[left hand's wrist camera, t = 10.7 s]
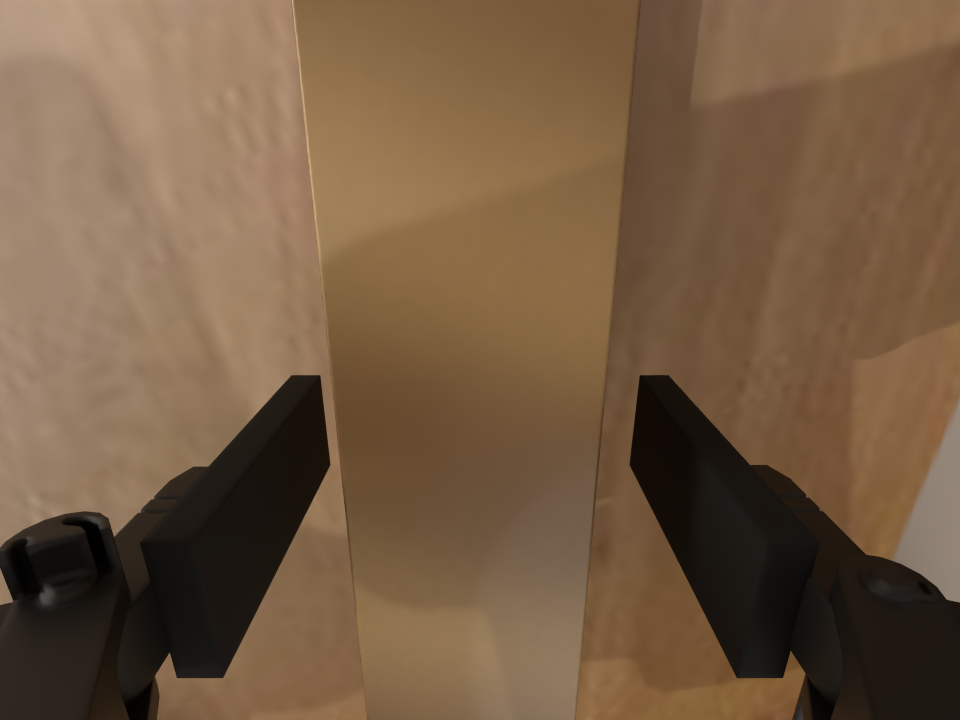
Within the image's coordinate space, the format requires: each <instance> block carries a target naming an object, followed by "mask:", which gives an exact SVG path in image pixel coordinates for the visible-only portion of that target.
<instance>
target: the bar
mask: <svg viewBox="0 0 960 720" xmlns="http://www.w3.org/2000/svg"><path fill="white" fill-rule="evenodd" d="M291 2H292V12H293V21H294V31H295V40H296V50H297V59H298V69H299V78H300V88H301V97H302V106H303V116H304V125H305V135H306V144H307V154H308V163H309V173H310V182H311V192H312V201H313V210H314V220H315V229H316V239H317V248H318V258H319V267H320V277H321V286H322V296H323V305H324V315H325V324H326V333H327V343H328V352H329V362H330V371H331V381H332V390H333V400H334V409H335V419H336V428H337V437H338V447H339V456H340V466H341V475H342V485H343V494H344V504H345V513H346V523H347V532H348V541H349V551H350V560H351V570H352V579H353V589H354V598H355V608H356V617H357V627H358V636H359V645H360V655H361V664H362V674H363V683H364V693H365V702H366V712H367V720H576V709H577V698H578V687H579V676H580V665H581V654H582V643H583V632H584V621H585V610H586V599H587V588H588V577H589V566H590V555H591V544H592V533H593V522H594V511H595V500H596V489H597V478H598V467H599V456H600V445H601V434H602V423H603V412H604V401H605V390H606V379H607V368H608V357H609V346H610V335H611V324H612V313H613V302H614V291H615V280H616V269H617V258H618V247H619V236H620V225H621V214H622V203H623V191H624V180H625V169H626V158H627V147H628V136H629V125H630V114H631V103H632V92H633V81H634V70H635V59H636V48H637V37H638V26H639V15H640V4H641V0H291Z"/></svg>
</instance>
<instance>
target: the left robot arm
mask: <svg viewBox="0 0 960 720" xmlns="http://www.w3.org/2000/svg"><path fill="white" fill-rule="evenodd" d="M329 467H330V457H329V448H328V439H327V431H326V422H325V413H324V404H323V396H322V387H321V378H320V375H291V377H290V378H289V379H288V380H287V381H286V382H285V383H284V384H283V385H282V386H281V388H280V389H279V390H278V391H277V392H276V393H275V394H274V395H273V396H272V397H271V399H270V400H269V401H268V402H267V403H266V404H265V405H264V406H263V407H262V408H261V410H260V411H259V412H258V413H257V414H256V415H255V416H254V417H253V418H252V419H251V421H250V422H249V423H248V424H247V425H246V426H245V427H244V428H243V429H242V430H241V432H240V433H239V434H238V435H237V436H236V437H235V438H234V439H233V440H232V441H231V443H230V444H229V445H228V446H227V447H226V448H225V449H224V450H223V451H222V453H221V454H220V455H219V456H218V457H217V458H216V459H215V460H214V461H213V462H212V464H211V465H210V466H209V467H192V468H191V469H189V470H187V471H186V472H184V473H182V474H180V475H179V476H177V477H175V478H174V479H172V480H170V481H169V482H168V483H167V484H166V485H165V486H164V487H163V488H162V489H161V490H160V491H159V492H158V493H157V494H156V495H155V496H154V497H155V498H154V500H150V501H149V502H148V503H147V504H146V505H145V506H144V507H143V508H142V509H141V513H138V514H137V515H136V516H135V517H134V518H133V519H132V520H131V521H130V522H129V523H128V524H127V525H126V526H125V527H124V528H123V529H122V530H121V531H120V532H119V533H118V534H117V535H116V536H115V537H114V536H113V532H112V529H111V526H110V522H109V519H108V518H107V517H105V516H104V515H102V514H101V513H95V512H86V511H85V512H77V513H69V514H64V515H60V516H57V517H54V518H50V519H47V520H44V521H42V522H39V523H37V524H35V525H33V526H31V527H28V528H26V529H24V530H22V531H21V532H19V533H18V534H16V535H15V536H13V537H12V538H10V539H9V540H7V541H6V542H5V543H4V544H3V545H2V546H1V547H0V568H1V571H2V573H3V576H4V579H5V581H6V584H7V586H8V589H9V591H10V594H11V596H12V599H13V602H12V603H8V604H3V605H0V720H157V713H158V704H159V691H158V685H157V681H156V678H155V674H156V673H157V671H158V670H159V668H160V667H161V665H162V664H163V662H164V660H165V659H166V657H167V656H168V654H169V653H170V654H171V658H172V662H173V665H174V669H175V673H176V676H177V678H223V677H224V675H225V673H226V671H227V669H228V667H229V665H230V663H231V661H232V659H233V657H234V655H235V653H236V651H237V649H238V647H239V645H240V643H241V641H242V639H243V637H244V635H245V633H246V631H247V629H248V627H249V625H250V623H251V621H252V619H253V617H254V615H255V614H256V612H257V610H258V608H259V606H260V604H261V602H262V600H263V598H264V596H265V594H266V592H267V590H268V588H269V586H270V584H271V582H272V580H273V578H274V576H275V574H276V572H277V570H278V568H279V566H280V564H281V562H282V560H283V558H284V556H285V554H286V552H287V550H288V548H289V546H290V544H291V542H292V540H293V538H294V536H295V534H296V532H297V530H298V528H299V526H300V524H301V522H302V520H303V518H304V516H305V514H306V512H307V510H308V508H309V506H310V504H311V502H312V500H313V498H314V496H315V494H316V492H317V490H318V489H319V487H320V485H321V483H322V481H323V479H324V477H325V475H326V473H327V471H328V469H329ZM630 467H631V469H632V471H633V473H634V475H635V477H636V479H637V481H638V483H639V485H640V487H641V488H642V490H643V492H644V494H645V496H646V498H647V500H648V502H649V504H650V506H651V508H652V510H653V512H654V514H655V516H656V518H657V520H658V522H659V524H660V526H661V528H662V530H663V532H664V534H665V536H666V538H667V540H668V542H669V544H670V546H671V548H672V550H673V552H674V554H675V556H676V558H677V560H678V562H679V564H680V566H681V568H682V570H683V572H684V574H685V576H686V578H687V580H688V582H689V584H690V586H691V588H692V590H693V592H694V594H695V596H696V598H697V600H698V602H699V604H700V606H701V608H702V610H703V612H704V613H705V615H706V617H707V619H708V621H709V623H710V625H711V627H712V629H713V631H714V633H715V635H716V637H717V639H718V641H719V643H720V645H721V647H722V649H723V651H724V653H725V655H726V657H727V659H728V661H729V663H730V665H731V667H732V669H733V671H734V673H735V675H736V677H737V678H783V676H784V673H785V669H786V665H787V662H788V658H789V654H790V651H792V653H793V655H794V656H795V658H796V659H797V661H798V662H799V664H800V665H801V667H802V669H803V670H804V672H805V673H806V674H805V678H804V681H803V685H802V688H801V691H800V695H799V698H798V701H797V705H796V708H795V712H794V715H793V719H792V720H960V603H959V602H954V601H949V600H946V598H945V597H944V596H943V594H942V593H941V592H940V591H939V589H938V588H937V587H936V586H935V585H934V584H932V583H931V582H930V581H928V580H927V579H926V578H925V577H923V576H922V575H921V574H919V573H917V572H915V571H913V570H911V569H909V568H907V567H906V566H904V565H902V564H899V563H897V562H894V561H891V560H888V559H885V558H882V557H877V556H870V555H866V554H865V553H864V552H863V551H862V550H861V549H860V548H859V547H858V546H857V545H856V544H855V543H854V542H853V541H852V540H851V539H850V538H849V537H848V536H847V535H846V534H845V533H844V532H843V531H842V530H841V529H840V528H839V527H838V526H837V525H836V524H835V523H834V522H833V521H832V520H831V519H830V518H829V517H828V516H827V515H826V514H825V513H824V512H823V511H820V510H819V507H818V506H817V505H816V504H815V503H814V502H813V501H812V500H811V499H810V498H806V494H805V493H804V492H803V491H802V490H801V489H800V488H799V487H798V486H797V485H796V484H795V483H794V482H793V481H792V480H791V479H790V478H788V477H786V476H785V475H783V474H781V473H780V472H778V471H776V470H774V469H773V468H771V467H769V466H768V465H749V463H748V462H747V461H746V460H745V459H744V458H743V457H742V456H741V455H740V454H739V452H738V451H737V450H736V449H735V448H734V447H733V446H732V445H731V444H730V443H729V441H728V440H727V439H726V438H725V437H724V436H723V435H722V434H721V433H720V432H719V430H718V429H717V428H716V427H715V426H714V425H713V424H712V423H711V422H710V421H709V419H708V418H707V417H706V416H705V415H704V414H703V413H702V412H701V411H700V410H699V408H698V407H697V406H696V405H695V404H694V403H693V402H692V401H691V400H690V399H689V397H688V396H687V395H686V394H685V393H684V392H683V391H682V390H681V389H680V388H679V386H678V385H677V384H676V383H675V382H674V381H673V380H672V379H671V378H670V377H669V375H640V378H639V387H638V396H637V404H636V413H635V422H634V431H633V439H632V448H631V457H630Z"/></svg>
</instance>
